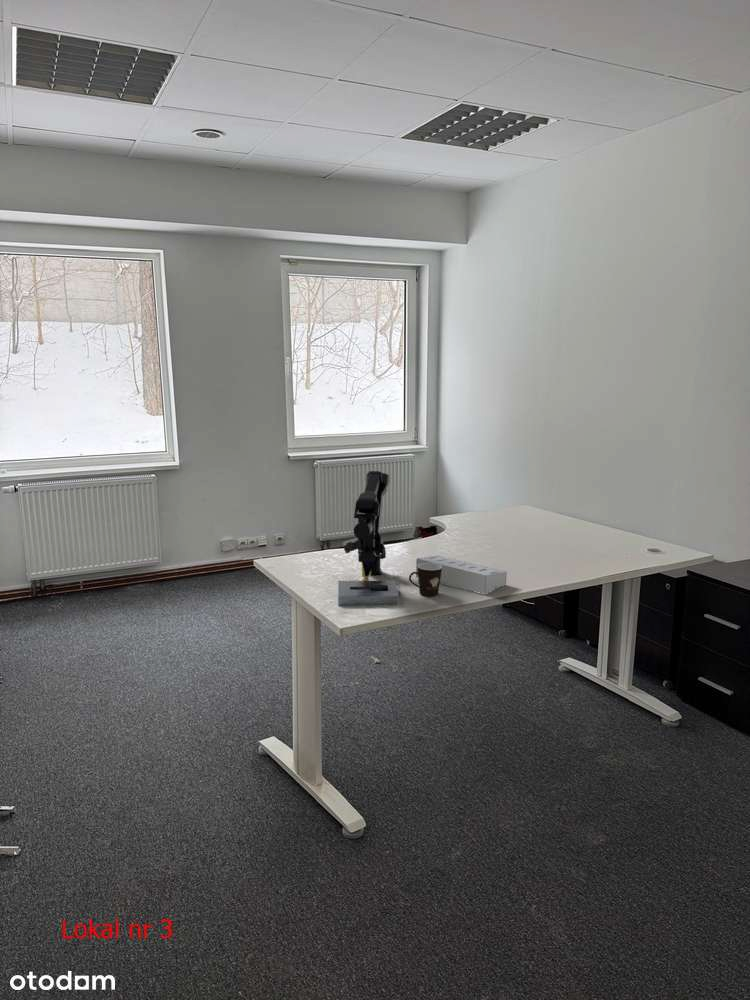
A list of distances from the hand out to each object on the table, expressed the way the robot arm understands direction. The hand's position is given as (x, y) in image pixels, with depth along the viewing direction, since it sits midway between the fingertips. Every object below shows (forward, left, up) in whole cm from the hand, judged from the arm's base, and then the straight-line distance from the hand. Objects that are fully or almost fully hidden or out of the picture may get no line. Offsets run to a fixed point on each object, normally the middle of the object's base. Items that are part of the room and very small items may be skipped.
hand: (366, 574), depth 251 cm
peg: (0, 0, -4) cm, 4 cm away
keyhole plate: (+13, 0, -4) cm, 14 cm away
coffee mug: (+10, +20, -4) cm, 23 cm away
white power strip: (-4, +35, -5) cm, 35 cm away
